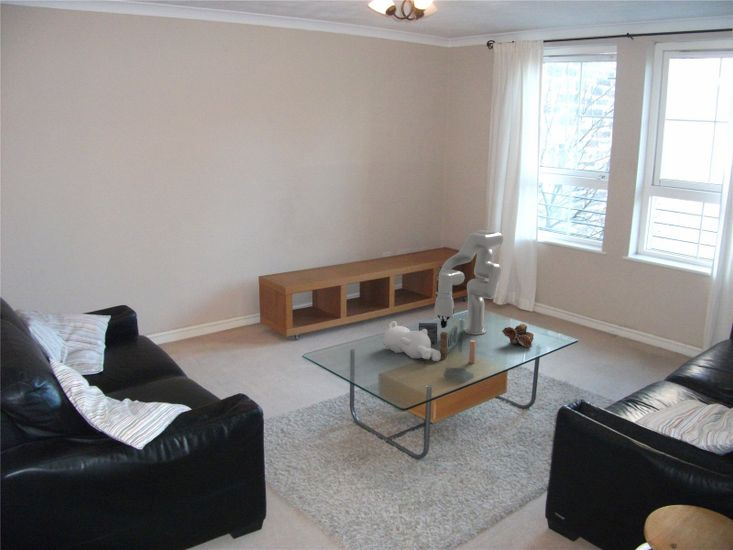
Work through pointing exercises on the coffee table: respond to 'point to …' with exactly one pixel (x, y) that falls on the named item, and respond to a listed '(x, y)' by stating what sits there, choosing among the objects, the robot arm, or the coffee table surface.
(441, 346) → the gate post
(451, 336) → the gate
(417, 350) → the teddy bear
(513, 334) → the seed pod
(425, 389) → the coffee table surface
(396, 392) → the coffee table surface
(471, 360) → the post
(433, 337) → the small box
